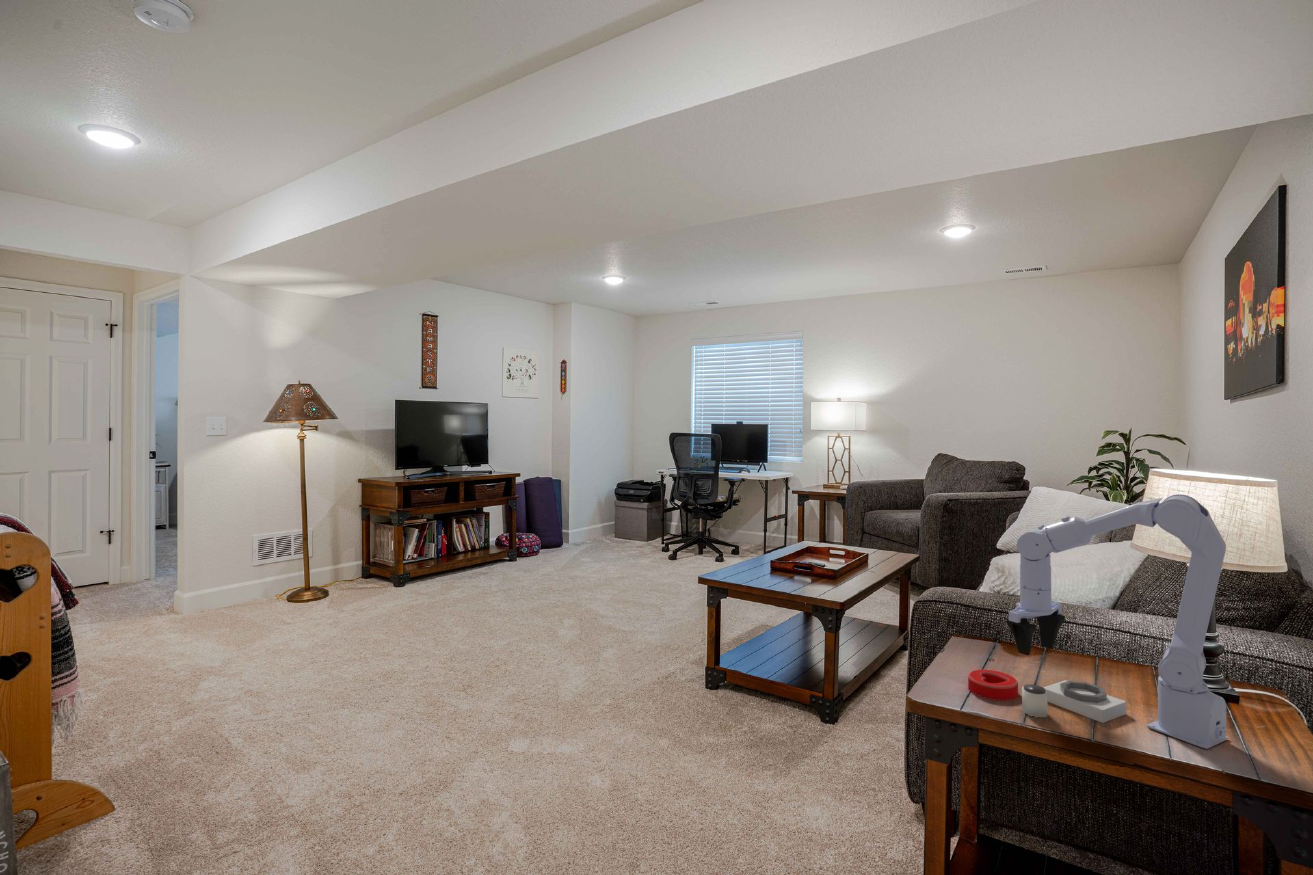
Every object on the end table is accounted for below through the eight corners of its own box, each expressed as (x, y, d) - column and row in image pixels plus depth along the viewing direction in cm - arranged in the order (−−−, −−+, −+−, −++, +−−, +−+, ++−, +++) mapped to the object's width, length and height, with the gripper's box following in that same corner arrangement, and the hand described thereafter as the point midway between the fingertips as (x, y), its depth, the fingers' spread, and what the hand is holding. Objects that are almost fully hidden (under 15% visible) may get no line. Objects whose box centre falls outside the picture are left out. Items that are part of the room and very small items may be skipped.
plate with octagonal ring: (1126, 713, 128) (1126, 695, 128) (1102, 722, 125) (1102, 704, 125) (1065, 691, 139) (1065, 674, 139) (1041, 699, 136) (1041, 681, 136)
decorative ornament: (1027, 700, 136) (1027, 685, 136) (983, 702, 135) (983, 687, 135) (1001, 681, 146) (1001, 668, 145) (959, 683, 145) (959, 669, 145)
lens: (1052, 714, 129) (1052, 689, 129) (1038, 719, 127) (1038, 694, 127) (1031, 706, 133) (1030, 681, 133) (1017, 710, 131) (1017, 686, 131)
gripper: (1039, 578, 144) (1039, 639, 144) (995, 587, 137) (995, 650, 138) (1071, 585, 137) (1071, 648, 138) (1026, 595, 131) (1027, 661, 131)
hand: (1035, 650), depth 137 cm, fingers open, 7 cm apart
